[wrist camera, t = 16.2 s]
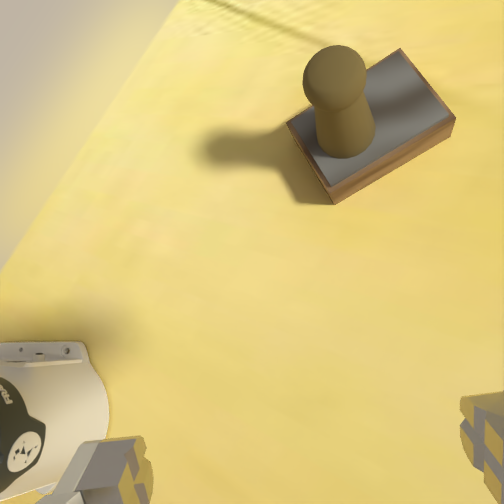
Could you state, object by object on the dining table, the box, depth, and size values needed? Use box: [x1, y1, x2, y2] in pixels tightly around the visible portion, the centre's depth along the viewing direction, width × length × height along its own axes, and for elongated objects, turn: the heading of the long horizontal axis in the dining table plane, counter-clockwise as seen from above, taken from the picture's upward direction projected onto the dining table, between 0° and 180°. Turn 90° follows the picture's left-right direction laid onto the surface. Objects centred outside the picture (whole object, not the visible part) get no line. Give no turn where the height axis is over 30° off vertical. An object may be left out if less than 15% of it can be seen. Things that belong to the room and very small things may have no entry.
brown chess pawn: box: [303, 45, 376, 159], centre depth 36 cm, size 6×6×11 cm
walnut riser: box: [286, 48, 456, 205], centre depth 43 cm, size 10×14×4 cm
